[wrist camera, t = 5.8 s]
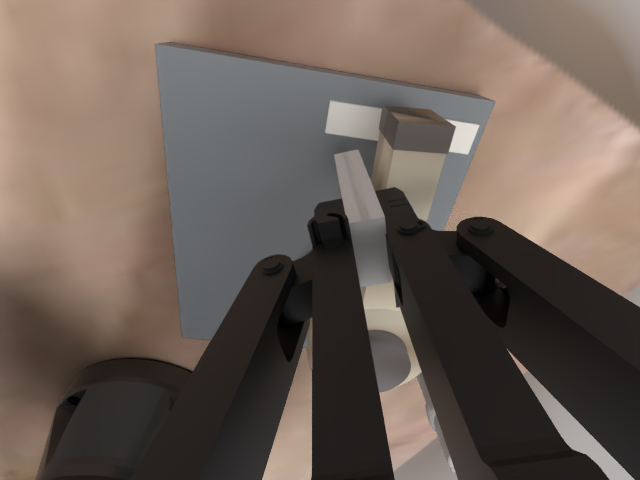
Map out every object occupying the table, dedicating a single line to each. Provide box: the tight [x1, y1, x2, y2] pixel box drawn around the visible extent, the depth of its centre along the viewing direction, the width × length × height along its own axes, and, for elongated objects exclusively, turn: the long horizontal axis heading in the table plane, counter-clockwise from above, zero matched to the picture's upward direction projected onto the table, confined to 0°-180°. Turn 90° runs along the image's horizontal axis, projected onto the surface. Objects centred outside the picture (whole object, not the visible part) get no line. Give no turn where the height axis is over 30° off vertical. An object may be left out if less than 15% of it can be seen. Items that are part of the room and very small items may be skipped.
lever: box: [308, 105, 456, 392], centre depth 18 cm, size 16×7×7 cm, turn 175°
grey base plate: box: [155, 42, 495, 348], centre depth 22 cm, size 20×17×2 cm
